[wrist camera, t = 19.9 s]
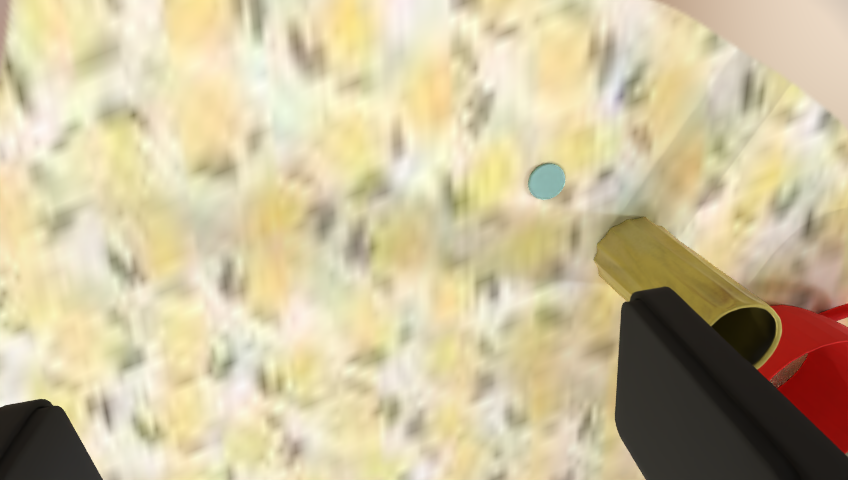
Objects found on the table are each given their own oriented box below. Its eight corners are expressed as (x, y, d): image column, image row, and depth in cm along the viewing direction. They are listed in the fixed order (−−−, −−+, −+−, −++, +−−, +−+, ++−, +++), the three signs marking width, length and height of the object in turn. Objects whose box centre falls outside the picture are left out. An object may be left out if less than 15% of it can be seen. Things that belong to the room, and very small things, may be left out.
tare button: (522, 161, 38) (528, 167, 37) (558, 155, 38) (565, 161, 37) (523, 195, 39) (529, 202, 38) (558, 189, 40) (565, 196, 38)
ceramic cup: (853, 313, 52) (962, 379, 43) (703, 415, 55) (776, 498, 46) (807, 219, 47) (920, 272, 38) (643, 337, 50) (713, 413, 40)
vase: (574, 220, 42) (681, 319, 29) (649, 193, 42) (789, 279, 29) (588, 285, 45) (692, 402, 32) (659, 259, 45) (792, 366, 32)
